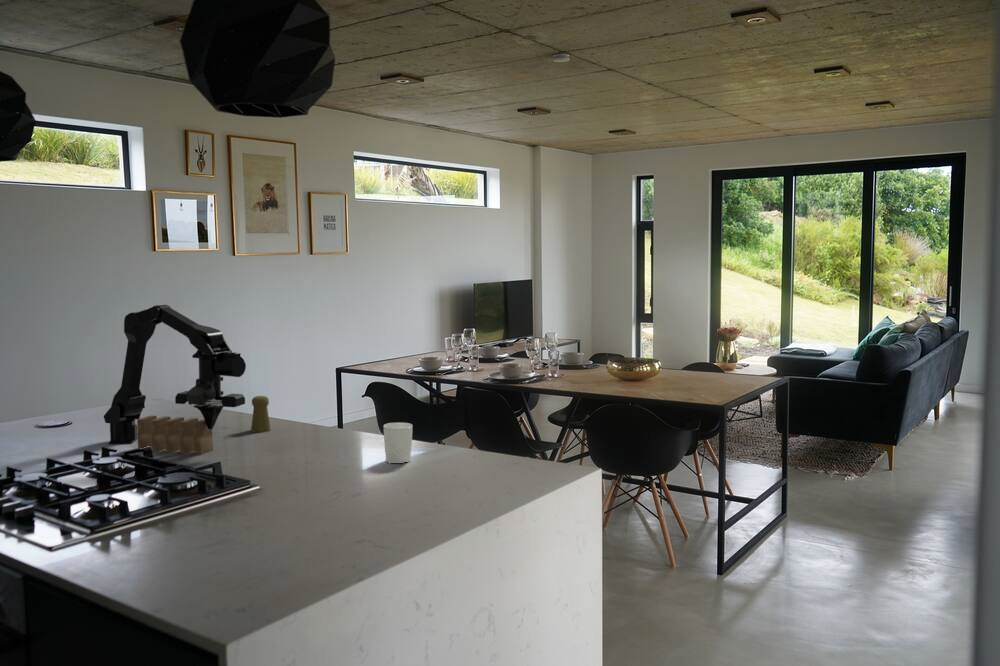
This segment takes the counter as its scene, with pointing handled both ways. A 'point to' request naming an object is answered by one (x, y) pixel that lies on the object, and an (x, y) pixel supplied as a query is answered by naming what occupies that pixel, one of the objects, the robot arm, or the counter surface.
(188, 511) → the counter surface
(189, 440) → the walnut domino
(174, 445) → the walnut domino
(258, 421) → the olive yellow rounded piece
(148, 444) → the walnut domino
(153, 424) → the walnut domino
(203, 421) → the walnut domino
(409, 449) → the white cup
